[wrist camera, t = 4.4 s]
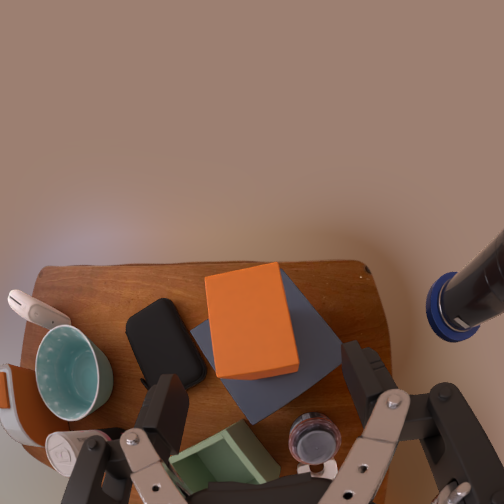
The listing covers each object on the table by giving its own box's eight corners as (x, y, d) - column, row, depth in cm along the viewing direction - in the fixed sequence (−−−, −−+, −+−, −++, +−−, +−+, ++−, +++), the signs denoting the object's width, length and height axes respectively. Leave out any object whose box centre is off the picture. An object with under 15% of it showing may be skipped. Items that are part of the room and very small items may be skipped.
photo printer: (74, 318, 45) (30, 297, 34) (68, 338, 43) (22, 320, 32) (48, 303, 47) (8, 282, 37) (42, 321, 46) (1, 302, 35)
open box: (242, 418, 34) (225, 429, 25) (281, 467, 30) (276, 492, 21) (190, 447, 33) (160, 461, 24) (226, 494, 28) (206, 521, 19)
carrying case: (123, 327, 43) (158, 405, 36) (113, 323, 40) (148, 406, 33) (172, 296, 44) (214, 375, 37) (164, 290, 41) (208, 375, 35)
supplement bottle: (341, 427, 31) (358, 443, 21) (311, 456, 30) (316, 482, 20) (311, 402, 34) (317, 411, 24) (281, 431, 32) (275, 450, 22)
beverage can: (145, 458, 32) (85, 477, 19) (116, 464, 31) (56, 479, 18) (128, 423, 35) (65, 428, 22) (102, 431, 34) (39, 435, 21)
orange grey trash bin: (36, 377, 40) (-12, 365, 28) (59, 373, 40) (7, 361, 28) (49, 444, 33) (-1, 444, 21) (74, 446, 33) (21, 449, 21)
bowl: (142, 406, 36) (112, 407, 29) (80, 428, 35) (49, 428, 27) (112, 322, 43) (83, 308, 36) (58, 353, 42) (28, 343, 35)
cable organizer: (333, 455, 29) (345, 476, 21) (341, 507, 25) (351, 537, 16) (296, 463, 30) (296, 486, 21) (305, 514, 25) (306, 546, 16)
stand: (287, 313, 40) (281, 267, 25) (328, 366, 36) (352, 354, 21) (231, 352, 39) (189, 330, 24) (270, 407, 34) (252, 425, 19)
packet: (285, 310, 23) (277, 260, 14) (298, 371, 21) (300, 364, 12) (239, 319, 24) (204, 276, 15) (249, 380, 21) (216, 378, 12)
